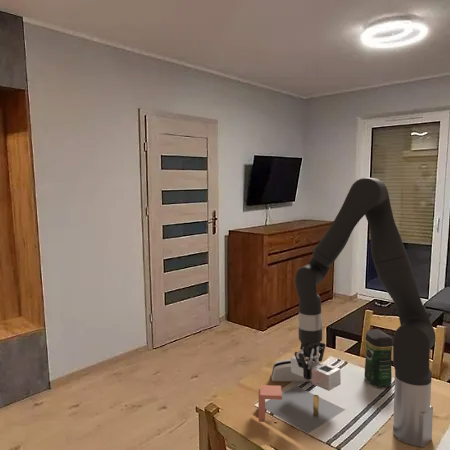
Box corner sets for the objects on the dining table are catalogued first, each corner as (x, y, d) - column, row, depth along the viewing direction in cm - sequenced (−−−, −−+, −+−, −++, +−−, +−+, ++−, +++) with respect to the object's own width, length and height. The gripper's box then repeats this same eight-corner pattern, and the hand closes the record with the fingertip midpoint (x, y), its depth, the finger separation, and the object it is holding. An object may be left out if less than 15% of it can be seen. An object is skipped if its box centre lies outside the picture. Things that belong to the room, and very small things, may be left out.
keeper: (280, 411, 126) (280, 385, 125) (281, 422, 120) (282, 395, 119) (258, 410, 127) (258, 385, 126) (258, 421, 121) (258, 395, 120)
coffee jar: (395, 387, 140) (397, 336, 138) (374, 389, 139) (375, 337, 137) (381, 374, 149) (382, 326, 147) (361, 376, 148) (362, 327, 146)
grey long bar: (340, 384, 125) (340, 368, 125) (328, 391, 121) (328, 375, 121) (299, 367, 138) (299, 353, 137) (287, 373, 134) (287, 359, 133)
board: (344, 411, 125) (344, 409, 125) (307, 436, 113) (308, 433, 113) (296, 388, 140) (296, 385, 140) (259, 407, 128) (259, 405, 128)
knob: (319, 418, 122) (319, 396, 121) (316, 420, 121) (316, 398, 120) (315, 415, 123) (315, 394, 123) (312, 417, 122) (312, 396, 122)
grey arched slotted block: (315, 376, 149) (317, 355, 144) (317, 386, 144) (319, 365, 140) (270, 376, 149) (271, 356, 145) (271, 386, 145) (272, 365, 140)
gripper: (305, 334, 121) (306, 388, 123) (332, 323, 131) (333, 374, 132) (286, 328, 127) (287, 380, 129) (314, 318, 136) (314, 367, 138)
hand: (310, 377), depth 130 cm, fingers closed on grey long bar, 3 cm apart
